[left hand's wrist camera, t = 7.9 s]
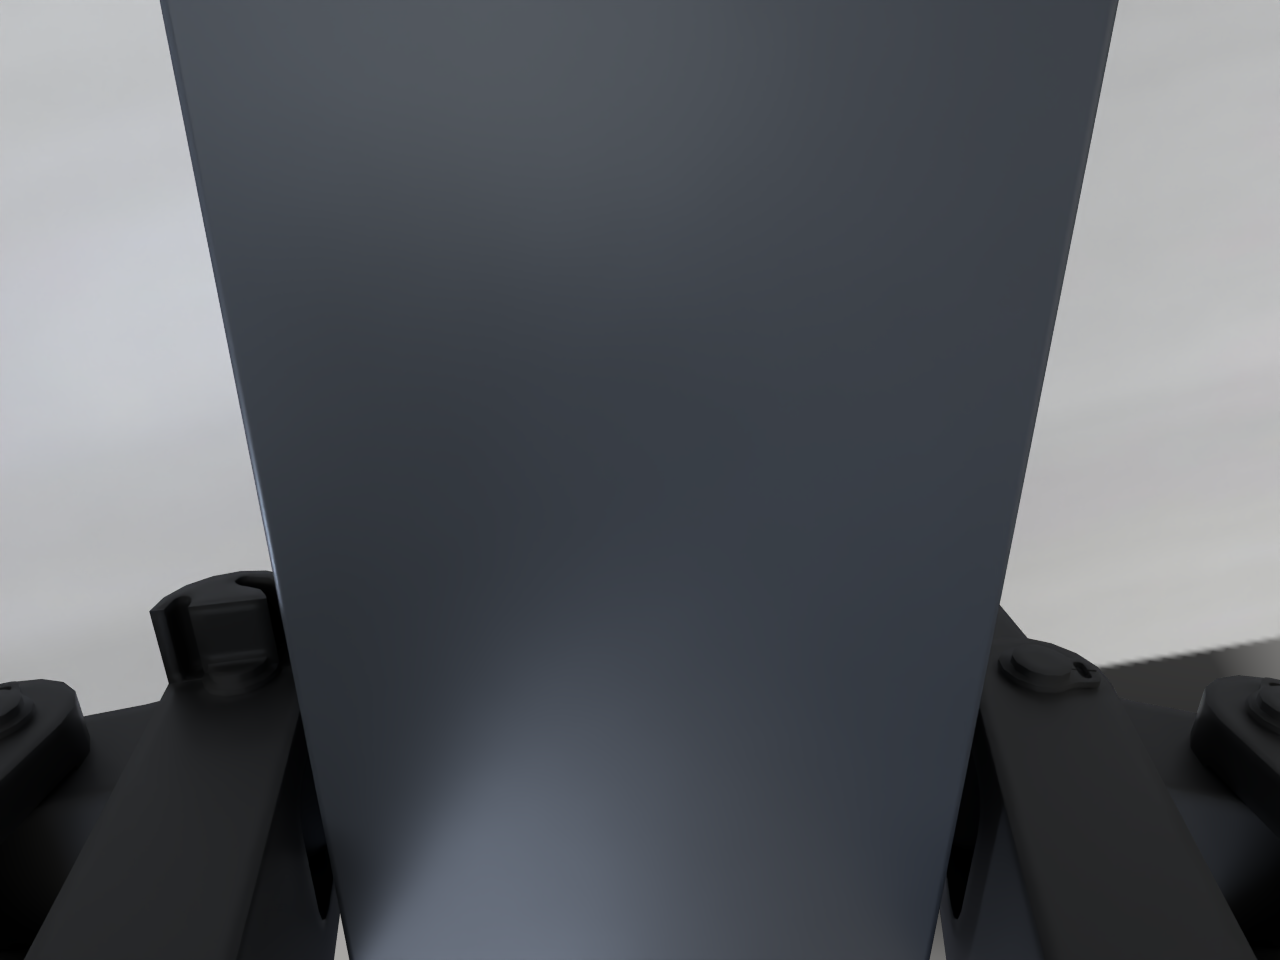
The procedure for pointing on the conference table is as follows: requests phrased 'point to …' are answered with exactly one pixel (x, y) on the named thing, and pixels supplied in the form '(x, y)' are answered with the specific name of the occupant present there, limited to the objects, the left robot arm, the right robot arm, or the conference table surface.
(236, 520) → the conference table surface
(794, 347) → the bar
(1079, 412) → the conference table surface
